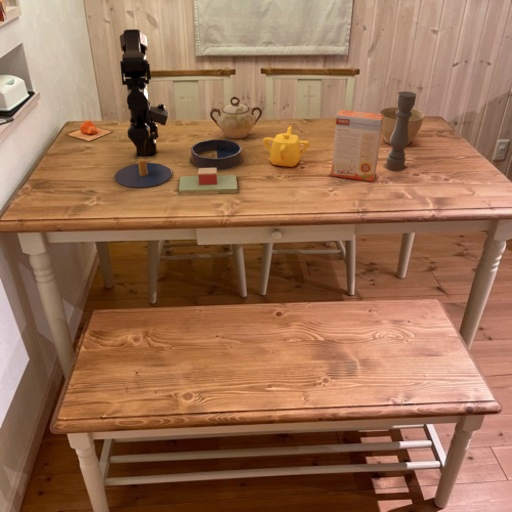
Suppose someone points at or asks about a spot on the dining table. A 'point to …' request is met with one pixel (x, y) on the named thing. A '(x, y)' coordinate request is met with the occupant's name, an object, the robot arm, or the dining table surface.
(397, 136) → the candle holder
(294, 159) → the teapot
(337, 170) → the cracker box
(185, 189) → the board
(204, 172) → the meat
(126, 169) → the lid
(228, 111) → the sugar bowl
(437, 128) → the dining table surface
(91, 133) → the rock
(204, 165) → the pot
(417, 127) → the planter bowl
